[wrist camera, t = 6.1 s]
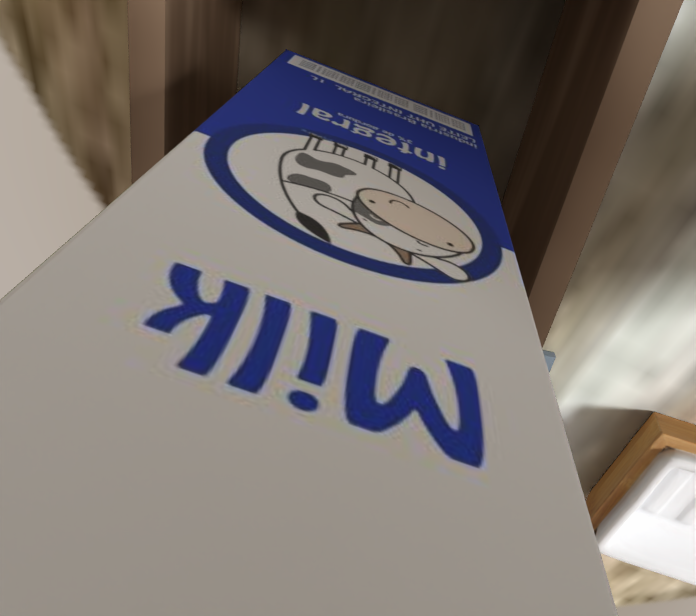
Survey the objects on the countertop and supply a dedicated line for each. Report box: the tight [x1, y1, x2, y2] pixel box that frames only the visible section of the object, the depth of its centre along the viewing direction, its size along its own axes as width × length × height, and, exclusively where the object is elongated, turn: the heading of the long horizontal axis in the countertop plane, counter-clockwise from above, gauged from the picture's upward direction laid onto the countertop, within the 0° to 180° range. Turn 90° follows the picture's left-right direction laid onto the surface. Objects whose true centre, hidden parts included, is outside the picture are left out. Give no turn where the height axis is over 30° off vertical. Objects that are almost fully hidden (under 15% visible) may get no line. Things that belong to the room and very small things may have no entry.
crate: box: [128, 0, 683, 348], centre depth 26 cm, size 16×16×10 cm
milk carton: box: [0, 49, 618, 616], centre depth 14 cm, size 7×7×20 cm
